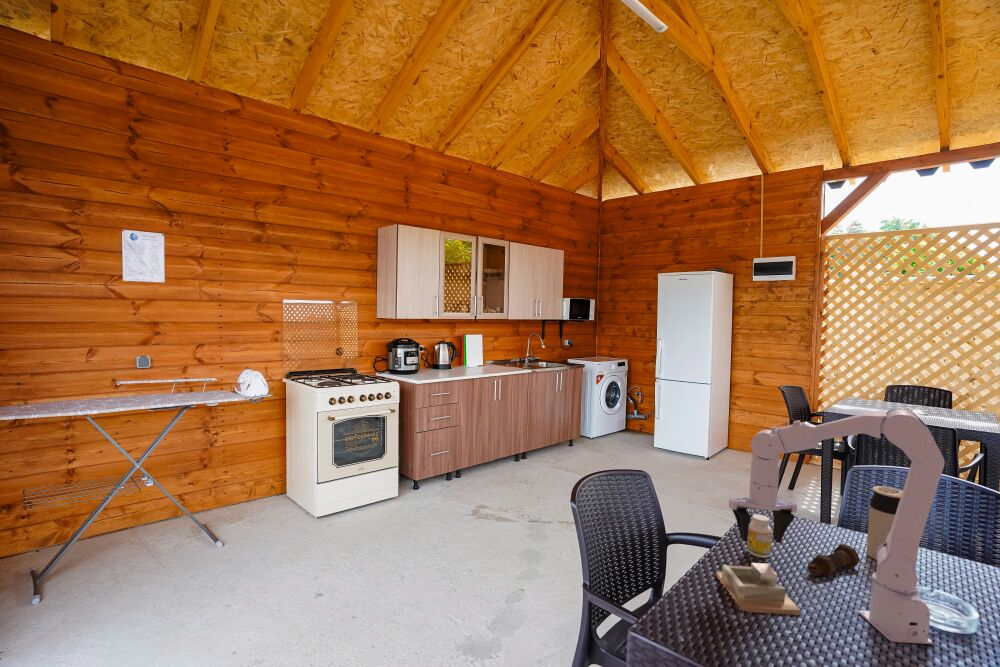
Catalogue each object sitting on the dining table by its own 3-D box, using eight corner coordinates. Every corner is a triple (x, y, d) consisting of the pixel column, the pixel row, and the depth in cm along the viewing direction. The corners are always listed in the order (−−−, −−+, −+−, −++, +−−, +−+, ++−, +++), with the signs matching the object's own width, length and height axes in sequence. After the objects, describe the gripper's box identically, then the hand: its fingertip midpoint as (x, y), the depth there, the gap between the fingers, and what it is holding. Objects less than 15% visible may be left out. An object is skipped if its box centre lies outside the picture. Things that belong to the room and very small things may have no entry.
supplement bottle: (771, 560, 128) (774, 523, 127) (748, 555, 130) (750, 519, 129) (768, 550, 133) (770, 515, 133) (746, 546, 135) (748, 511, 134)
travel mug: (859, 553, 133) (864, 487, 132) (879, 549, 136) (884, 484, 135) (891, 568, 126) (897, 498, 125) (911, 563, 129) (917, 494, 128)
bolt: (808, 583, 121) (844, 568, 128) (828, 582, 117) (864, 567, 124) (798, 557, 123) (833, 544, 130) (816, 555, 119) (852, 542, 126)
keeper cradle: (800, 614, 105) (801, 596, 104) (741, 611, 105) (743, 592, 105) (767, 578, 119) (768, 562, 118) (716, 575, 119) (717, 559, 119)
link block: (775, 596, 109) (777, 574, 109) (759, 595, 110) (760, 573, 109) (765, 585, 114) (767, 563, 114) (750, 584, 114) (751, 562, 114)
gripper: (786, 478, 119) (782, 534, 120) (724, 475, 119) (721, 530, 120) (803, 489, 112) (799, 548, 113) (738, 485, 112) (734, 544, 113)
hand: (760, 540), depth 116 cm, fingers open, 7 cm apart
